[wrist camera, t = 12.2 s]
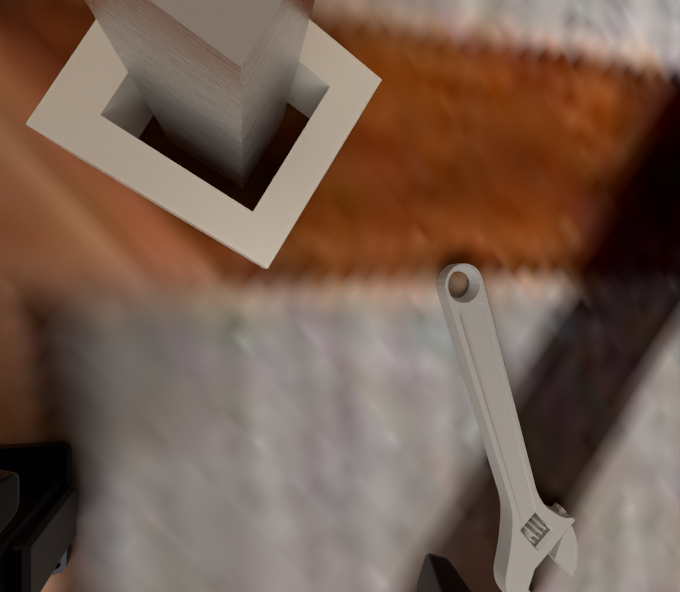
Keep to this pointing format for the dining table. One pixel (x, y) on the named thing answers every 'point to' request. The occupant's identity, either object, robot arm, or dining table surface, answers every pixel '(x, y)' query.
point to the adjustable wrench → (504, 442)
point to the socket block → (175, 181)
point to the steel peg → (211, 70)
